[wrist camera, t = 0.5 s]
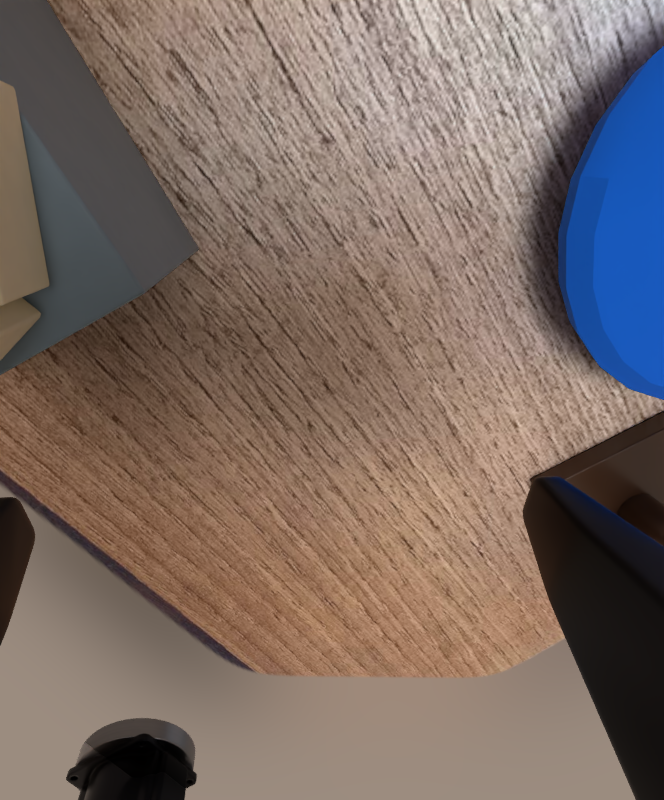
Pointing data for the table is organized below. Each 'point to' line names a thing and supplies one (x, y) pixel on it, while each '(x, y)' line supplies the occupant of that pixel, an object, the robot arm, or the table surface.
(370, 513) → the table surface
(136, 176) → the block
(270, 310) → the table surface
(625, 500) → the stand
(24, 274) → the ring
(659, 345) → the blue rounded piece
